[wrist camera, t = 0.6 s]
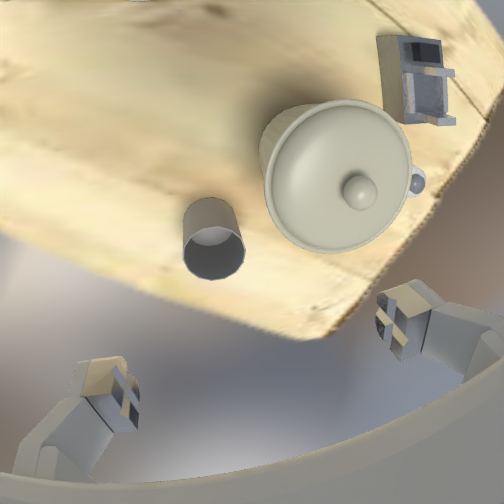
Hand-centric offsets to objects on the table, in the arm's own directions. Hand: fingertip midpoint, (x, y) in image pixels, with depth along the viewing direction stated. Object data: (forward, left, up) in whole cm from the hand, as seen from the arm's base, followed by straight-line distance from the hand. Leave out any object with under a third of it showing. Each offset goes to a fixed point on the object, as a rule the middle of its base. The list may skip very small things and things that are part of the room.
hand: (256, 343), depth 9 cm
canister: (+6, +13, -40) cm, 42 cm away
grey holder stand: (-4, +33, -39) cm, 52 cm away
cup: (+15, -3, -40) cm, 42 cm away
